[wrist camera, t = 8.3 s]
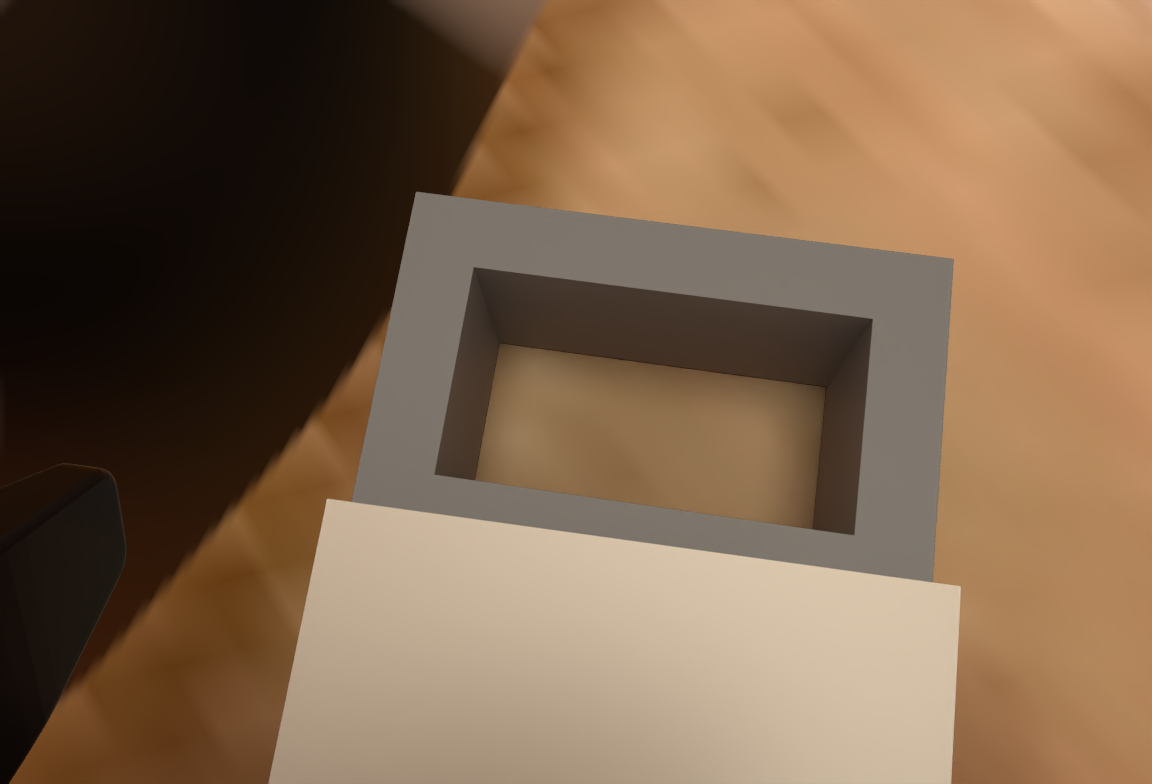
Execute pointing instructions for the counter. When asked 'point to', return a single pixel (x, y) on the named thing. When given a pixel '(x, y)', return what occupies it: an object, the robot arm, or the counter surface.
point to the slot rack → (675, 338)
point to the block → (606, 663)
